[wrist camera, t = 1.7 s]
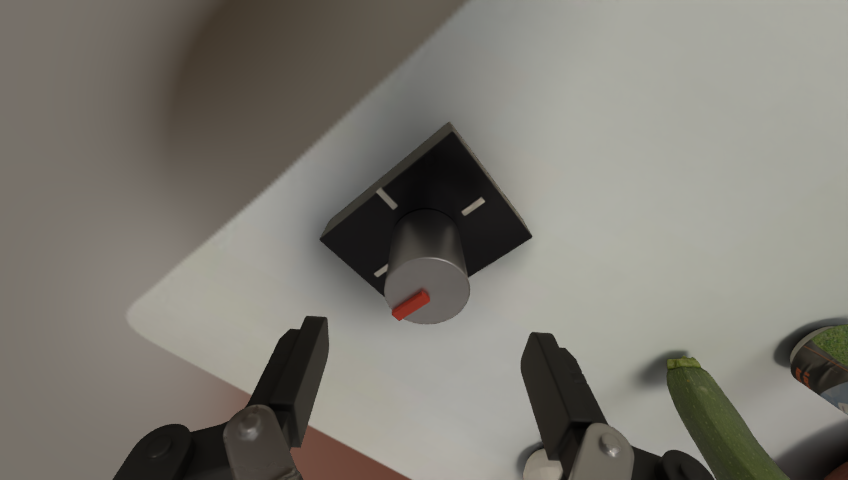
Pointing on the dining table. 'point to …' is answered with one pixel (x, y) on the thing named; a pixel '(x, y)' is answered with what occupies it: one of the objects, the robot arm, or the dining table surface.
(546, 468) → the cat figurine
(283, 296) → the dining table surface
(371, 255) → the panel
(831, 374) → the beverage can
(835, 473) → the clay pot
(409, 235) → the hob knob
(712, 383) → the vegetable
